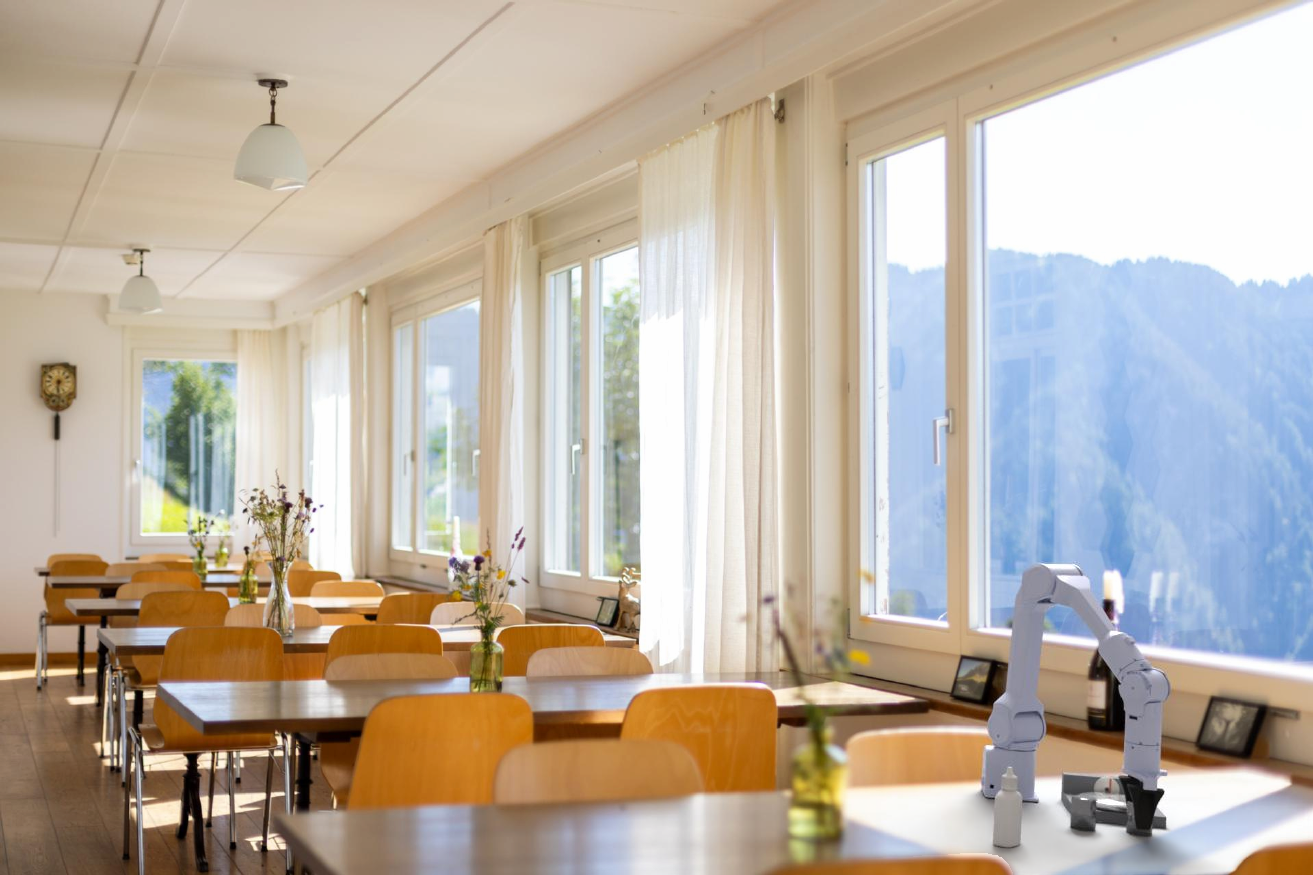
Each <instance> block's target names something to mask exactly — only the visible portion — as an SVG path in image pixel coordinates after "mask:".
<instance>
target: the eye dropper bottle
mask: <svg viewBox="0 0 1313 875" xmlns="http://www.w3.org/2000/svg"><path fill="white" fill-rule="evenodd" d="M1017 780H1018V777H1017V776H1015V775H1014V774H1013V769H1012V767H1008V768H1007V772H1006V774H1004V775H1002V781H1001V788H1002V789H1001V790H1000V791H999V792H998V793H997V795H996V797H995V798H994V809H993V810H994V811H993V829H992V830H993V833H992V844H993V845H994V846H995V847H996V846H997V847H1000V848H1001V847H1002V848H1006V849H1007V848H1008V849H1009V848H1013V846H1014V847H1018V846H1019V845H1020V844H1021V842H1022V841H1021V840H1022V820H1023V819H1022V818H1023V817H1022V816H1023V800H1022V795H1021V794H1020V793H1019V792H1018V791H1016V790H1017Z"/></svg>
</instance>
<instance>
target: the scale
mask: <svg viewBox="0 0 1313 875" xmlns="http://www.w3.org/2000/svg"><path fill="white" fill-rule="evenodd" d="M1061 774H1062V775H1061V798H1060V799H1061V801H1062V803H1063V805H1064V806H1065V807H1066V810H1067V811H1068V812H1069V814H1070V815H1071V799H1072V796H1075V795H1079V794H1081V793H1085V792H1108V793H1117V794H1123V795H1125V794H1124V790H1123V787H1122V785H1121V782H1120V780H1119V778H1118V776H1114V775H1104V774H1103V775H1102V774H1090V773H1080V772H1068V771H1067V772H1066V771H1062V773H1061ZM1096 823H1106V824H1118V825H1119V824H1120V825H1127V812H1117V811H1109V810H1103V809H1098V808H1096ZM1152 828H1160V829H1161V828H1163V829H1167V816H1166V815H1165V814H1164V812H1162V811H1161V809H1160V808H1158V807H1157V808H1156V811H1155V814H1154V818H1153V822H1152Z"/></svg>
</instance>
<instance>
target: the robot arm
mask: <svg viewBox="0 0 1313 875" xmlns="http://www.w3.org/2000/svg"><path fill="white" fill-rule="evenodd" d="M1021 574H1022V577H1021V585H1020V586H1019V589H1018V591H1017V594H1016V595H1015V600H1014V608H1013V618H1012V626H1011V636H1010V647H1009V655H1008V656H1009V657H1008V665H1007V666H1008V667H1007V676H1006V686H1005V692H1004V693H1003V694H1002V695H1001V696H999V697H998V699H997V700H996V701H994V703H993V705H992V706H993V707H992V708H993V709H992V712H991V714H990V716H989V717H988V720H987V725H986V726H987V727H986V728H987V729H986V730H987V733H988V737H989V738H990V740H991V742H992V744H991V745H990V744H987V745H984V746H983V751H982V752H983V753H982V769H981V770H982V771H981V778H980V784H981V786H980V787H981V791H982V792H983V795H984V797H986V798H990V799H993V798H994V799H995V797H996V795H997V793H998V792H999V791H1000V790H1001V789H1002V788H1001V781H1002V775H1004V774H1006V772H1007V768H1008V767H1012V769H1013V774H1014V775H1015V776H1017V777H1018V780H1017V790H1016V791H1018V792H1019V793H1020V794H1021V795H1022V801H1026V802H1036V803H1037V802H1039V801H1040V800H1039V797H1038V795H1037V793H1036V792H1035V785H1036V783H1035V781H1036V763H1037V762H1036V760H1037V749H1039V746H1040V745H1039V744H1040V743H1041V742H1042V741H1043V739H1044V738H1045V737H1046V736H1045V735H1046V733H1047V724H1046V720H1045V706H1044V704H1043V703H1042V702H1041V701H1040V699H1039V698H1038V697H1037V696H1038V686H1039V685H1038V684H1039V675H1040V666H1041V658H1042V657H1041V655H1042V648H1043V647H1042V645H1043V636H1044V629H1045V628H1044V627H1045V618H1046V613H1047V612H1048V611H1050V610H1051V609H1052V608H1054V607H1055V606H1057V605H1061V606H1064V607H1068V608H1071V609H1072V610H1073V611H1074V612H1075V614H1076V615H1077V616H1078V618H1079V619H1080V620H1081V621H1082V622H1083V624H1084V625H1085V626H1086V627H1087V628H1088V629H1089V631H1090V632H1091V634H1092V635H1093V636H1094V637H1095V638H1096V639H1097V640H1098V653H1099V655H1100V656H1101V658H1102V659H1103V660H1104V662H1105V663H1106V665H1107V666H1108V667H1109V669H1110V670H1111V672H1112V673H1113V675H1114V676H1115V678H1116V679H1117V680H1118V682H1119V683H1120V684H1118V693H1119V695H1120V698H1122V701H1123V710H1124V711H1125V715H1124V716H1125V720H1124V721H1125V724H1124V740H1123V741H1124V745H1123V765H1122V766H1121V772H1122V773H1123V774H1125V775H1122V774H1120V775H1118V776H1117V777H1118V778H1119V780H1120V782H1121V785H1122V787H1123V790H1124V794H1125V799H1126V806H1127V801H1129V800H1132V802H1133V808H1134V819H1135V825H1136V828H1137V829H1142V830H1150V828H1151V825H1152V822H1153V818H1154V814H1155V811H1156V808H1158V805H1159V803H1160V801H1161V800H1162V798H1163V796H1164V795H1165V789H1164V788H1160V787H1159V788H1158V780H1159V779H1160V778H1161V777H1168V771H1167V770H1165V769H1161V754H1162V751H1161V750H1162V749H1161V748H1162V729H1163V706H1164V705H1163V703H1164V702H1166V701H1167V700H1168V699H1169V697H1170V695H1171V687H1172V686H1171V682H1170V680H1169V678H1168V677H1167V673H1166V672H1164V671H1163V670H1162V669H1159V668H1155V667H1153V665H1152V663H1151V662H1150V661H1149V660H1147V659H1146V657H1145V656H1144V655H1143V653H1142V652H1141V651H1140V650H1139V648H1138V647H1137V645H1136V642H1137V640H1135V639H1134V637H1133V636H1129V634H1128V633H1126V632H1122V631H1118V630H1117V629H1116V627H1115V626H1114V624H1113V623H1112V621H1111V620H1110V618H1109V616H1108V615H1107V613H1106V612H1105V610H1104V609H1103V607H1102V605H1101V604H1100V602H1099V601H1098V599H1097V597H1096V596H1095V595H1094V592H1093V591H1092V589H1091V580H1090V579H1089V578H1088V577H1087V576H1086V575H1085V573H1084V570H1082V568H1081V567H1079V566H1078V565H1076V564H1073V563H1066V564H1052V563H1051V564H1048V563H1047V564H1046V563H1035V564H1032V565H1031V566H1030V567H1028V568H1026V569H1025V570H1024V571H1022V573H1021Z"/></svg>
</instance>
